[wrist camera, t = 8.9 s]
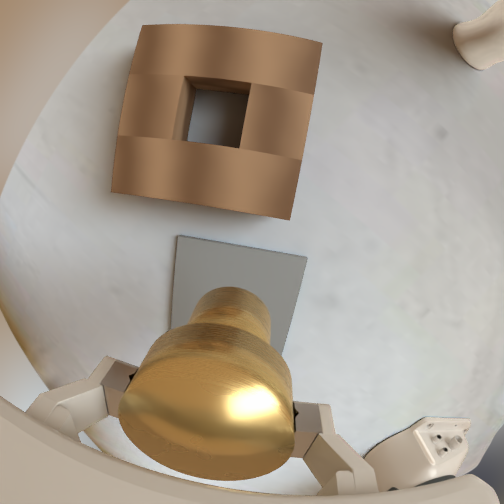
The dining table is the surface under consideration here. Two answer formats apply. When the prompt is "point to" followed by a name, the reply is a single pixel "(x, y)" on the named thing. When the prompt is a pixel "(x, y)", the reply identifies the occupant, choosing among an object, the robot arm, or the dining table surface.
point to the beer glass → (482, 38)
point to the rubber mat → (237, 279)
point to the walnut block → (180, 109)
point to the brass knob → (214, 393)
